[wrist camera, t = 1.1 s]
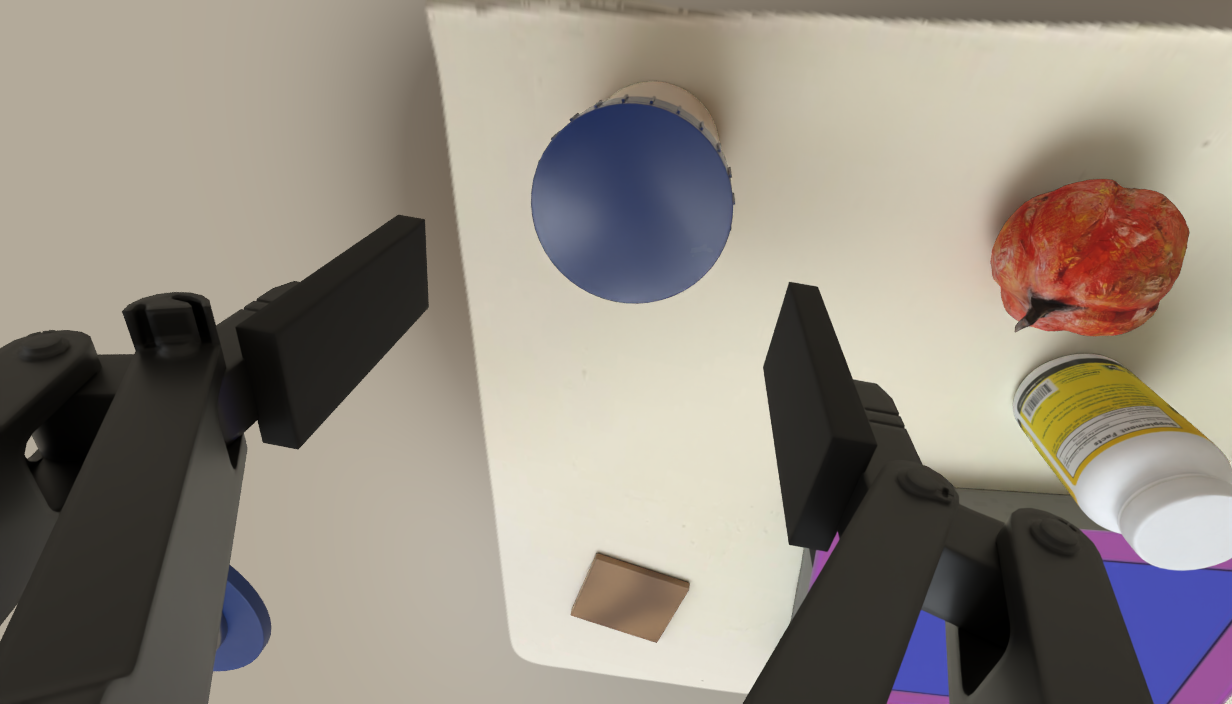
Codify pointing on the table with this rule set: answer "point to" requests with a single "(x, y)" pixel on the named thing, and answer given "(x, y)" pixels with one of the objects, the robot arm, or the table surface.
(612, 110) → the lid
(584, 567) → the table surface
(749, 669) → the table surface
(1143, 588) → the book
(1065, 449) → the pill bottle
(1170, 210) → the pomegranate
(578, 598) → the cork mat
